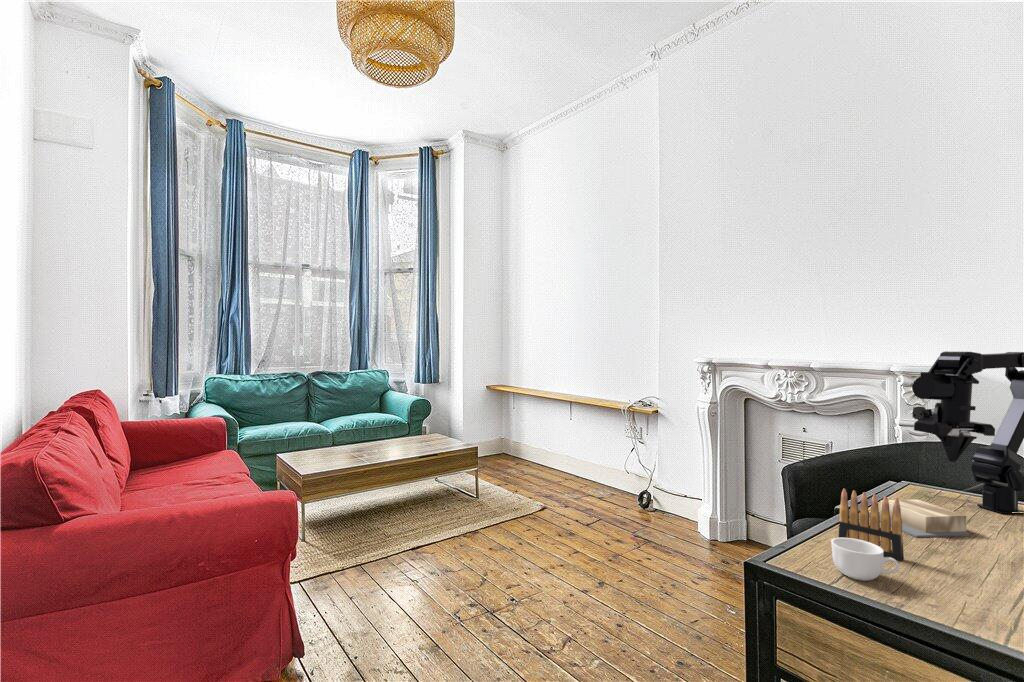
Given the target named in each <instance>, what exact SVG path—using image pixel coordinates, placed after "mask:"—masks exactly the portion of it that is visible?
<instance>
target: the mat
mask: <svg viewBox="0 0 1024 682" xmlns="http://www.w3.org/2000/svg"><path fill="white" fill-rule="evenodd" d="M879 516H880V523H881V514H880V511H879ZM869 517H870V512H869ZM891 528H892V519H891ZM902 531H903V532H902V533H905V534H907V535H909V536H912V537H914V538H936V537H937V538H938V537H941V538H942V537H943V538H945V537H971V533H968V532H967V531H963V532H929V533H926V532H923V531H921V530H918V529H916V528H913V527H911V526H908V525H906V524H903V523H902Z"/></svg>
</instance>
